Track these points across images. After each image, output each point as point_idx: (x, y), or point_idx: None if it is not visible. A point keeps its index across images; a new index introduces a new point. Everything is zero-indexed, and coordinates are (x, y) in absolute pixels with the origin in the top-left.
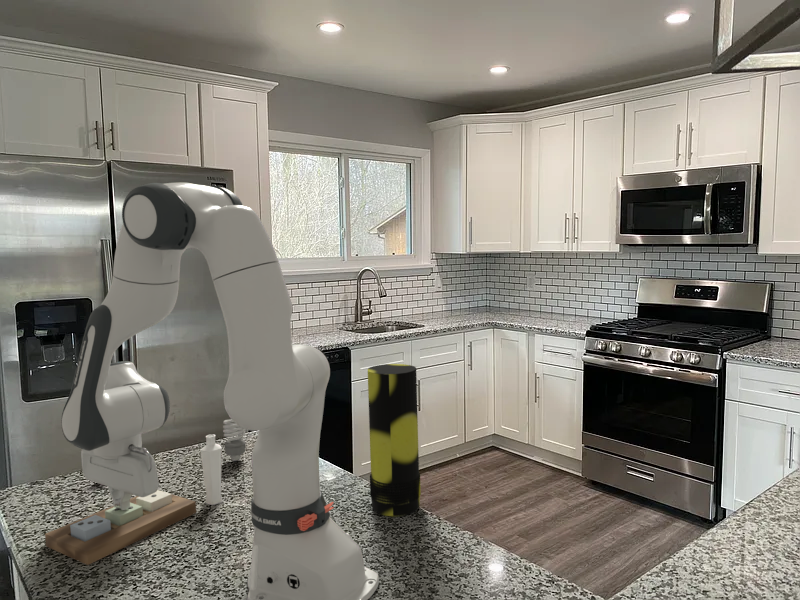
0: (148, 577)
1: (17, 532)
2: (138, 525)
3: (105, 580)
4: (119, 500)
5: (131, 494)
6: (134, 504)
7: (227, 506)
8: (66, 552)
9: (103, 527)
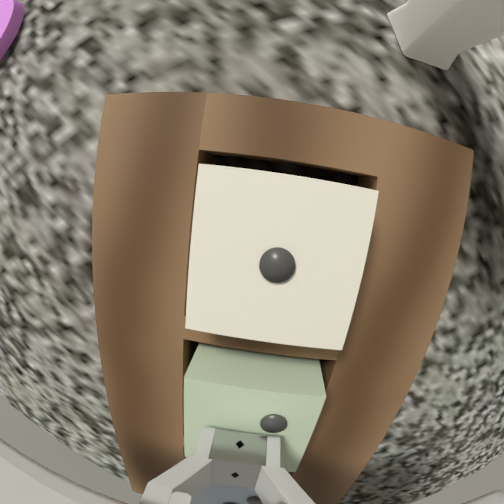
0: (471, 456)
1: (31, 417)
2: (372, 428)
3: (399, 494)
4: (238, 482)
5: (306, 496)
6: (258, 393)
7: (494, 76)
8: None
9: None
